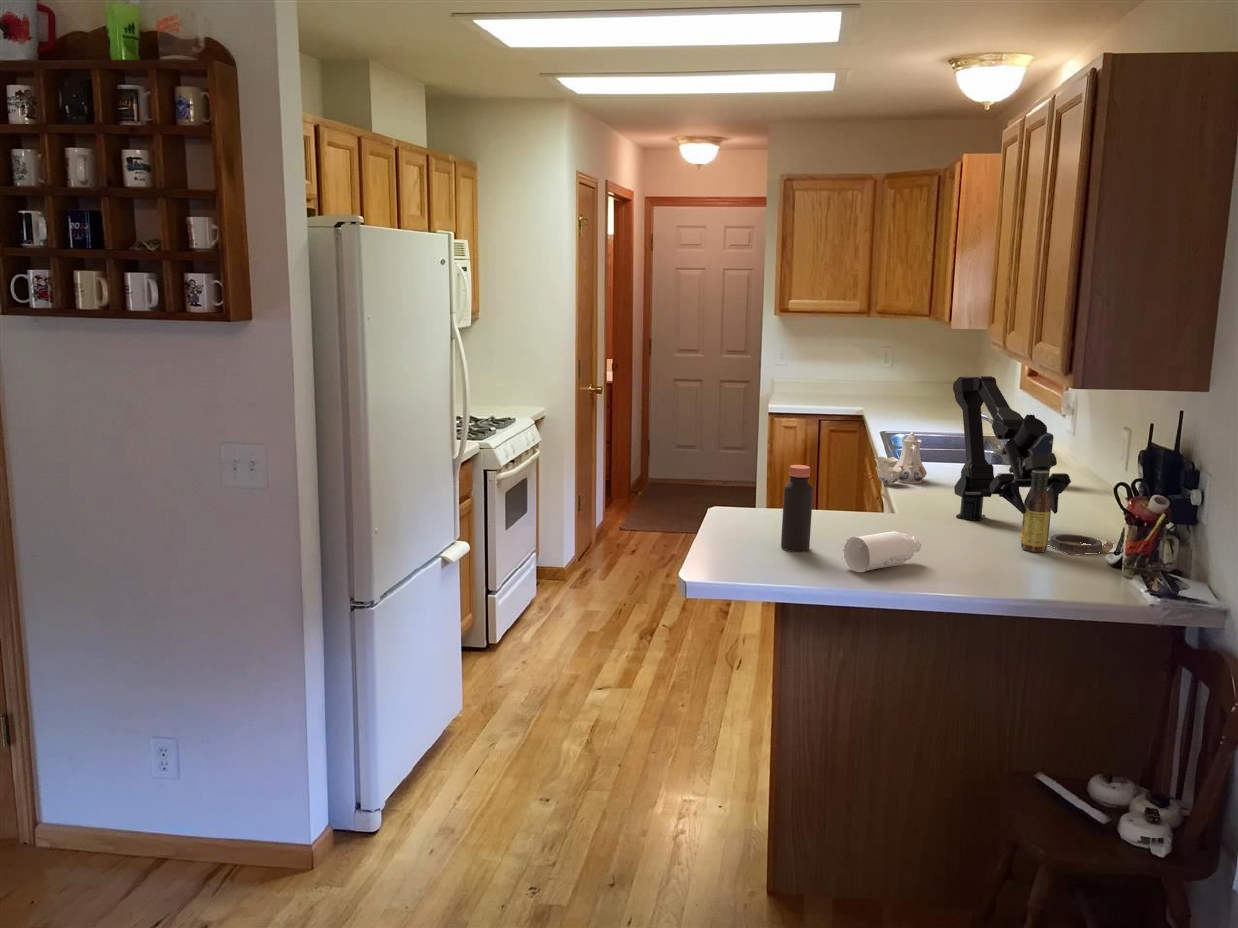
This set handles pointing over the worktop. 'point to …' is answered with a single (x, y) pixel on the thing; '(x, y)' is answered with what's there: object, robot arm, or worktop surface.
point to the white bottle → (879, 550)
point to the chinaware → (903, 464)
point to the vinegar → (797, 510)
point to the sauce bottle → (1037, 513)
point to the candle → (1044, 446)
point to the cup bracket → (1078, 544)
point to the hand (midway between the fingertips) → (1040, 512)
